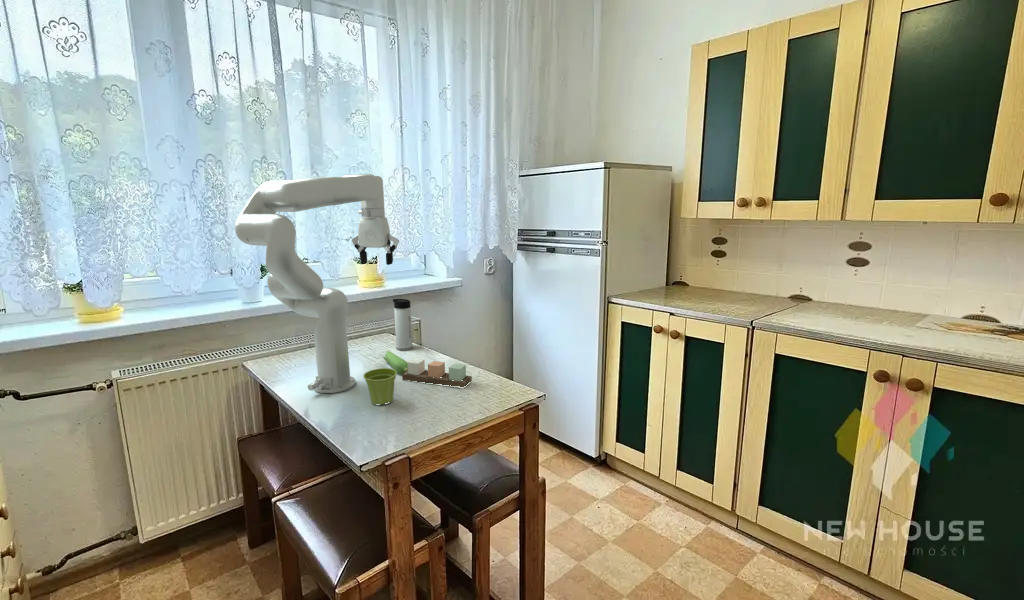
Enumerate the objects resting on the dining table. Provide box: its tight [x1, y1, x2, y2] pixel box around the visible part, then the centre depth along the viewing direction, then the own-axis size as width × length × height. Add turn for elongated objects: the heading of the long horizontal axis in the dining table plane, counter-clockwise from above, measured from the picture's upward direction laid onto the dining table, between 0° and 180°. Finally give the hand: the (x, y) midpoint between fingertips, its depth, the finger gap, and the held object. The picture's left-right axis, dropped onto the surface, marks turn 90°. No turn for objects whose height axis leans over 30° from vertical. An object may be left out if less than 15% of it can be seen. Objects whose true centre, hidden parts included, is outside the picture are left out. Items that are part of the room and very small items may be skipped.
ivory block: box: [407, 358, 426, 376], centre depth 160 cm, size 4×4×4 cm
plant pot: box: [362, 367, 398, 405], centre depth 142 cm, size 9×9×9 cm
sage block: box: [448, 363, 467, 382], centre depth 155 cm, size 4×4×4 cm
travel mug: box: [392, 298, 414, 352], centre depth 190 cm, size 6×7×20 cm
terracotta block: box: [427, 360, 446, 379], centre depth 158 cm, size 4×4×4 cm
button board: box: [401, 369, 473, 387], centre depth 158 cm, size 6×22×2 cm, turn 70°
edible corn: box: [382, 350, 408, 376], centre depth 171 cm, size 5×20×5 cm
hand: (376, 263), depth 169 cm, fingers open, 9 cm apart
